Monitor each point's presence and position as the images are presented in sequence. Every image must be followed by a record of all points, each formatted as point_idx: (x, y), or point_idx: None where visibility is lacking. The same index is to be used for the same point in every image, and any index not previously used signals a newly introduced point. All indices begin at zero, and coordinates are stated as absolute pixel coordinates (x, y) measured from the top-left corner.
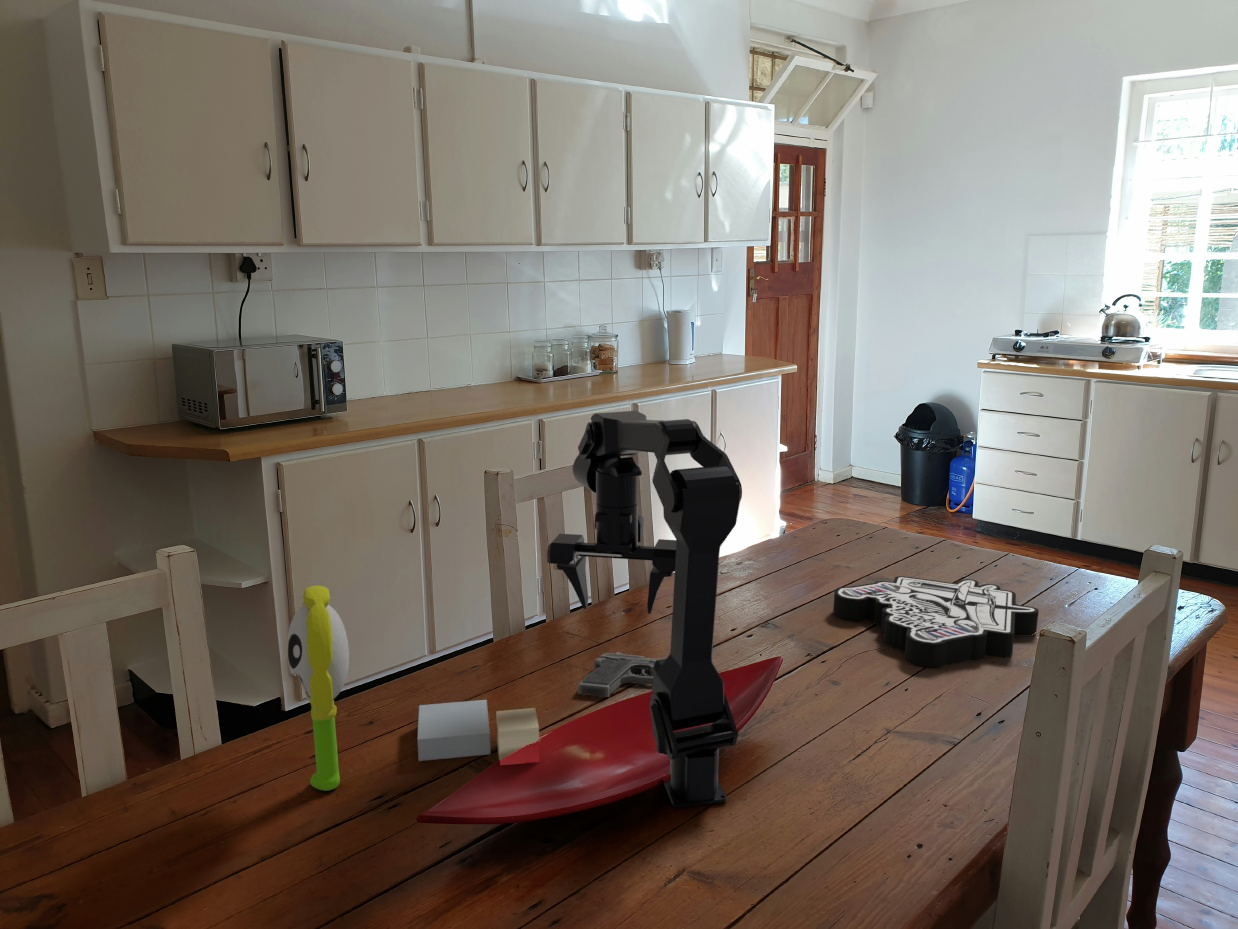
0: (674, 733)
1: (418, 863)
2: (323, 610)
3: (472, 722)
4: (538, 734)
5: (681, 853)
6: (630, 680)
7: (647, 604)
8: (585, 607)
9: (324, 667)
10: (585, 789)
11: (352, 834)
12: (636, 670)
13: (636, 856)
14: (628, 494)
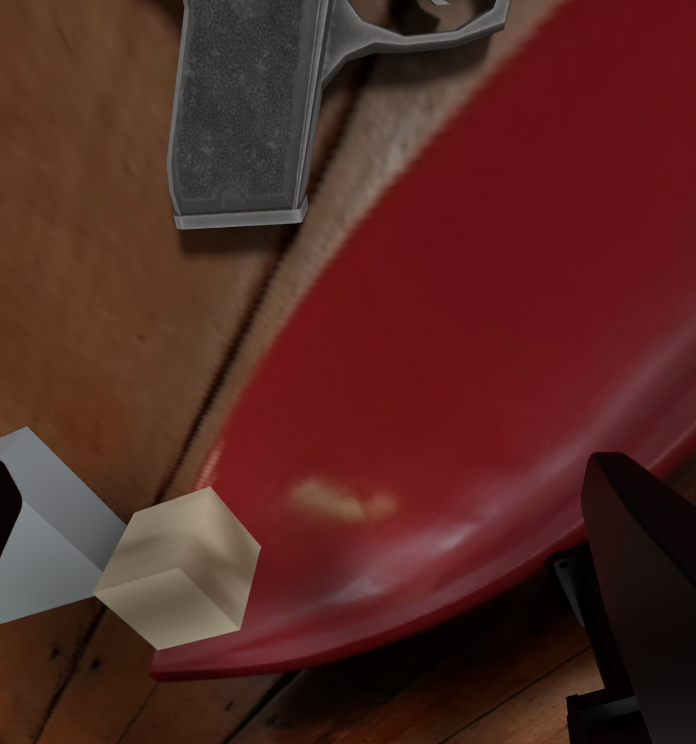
0: (625, 701)
1: (218, 728)
2: None
3: (48, 561)
4: (243, 611)
5: (592, 688)
6: (362, 56)
7: (611, 624)
8: (13, 521)
9: None
10: (391, 598)
11: (94, 705)
12: None
13: (518, 698)
14: None
